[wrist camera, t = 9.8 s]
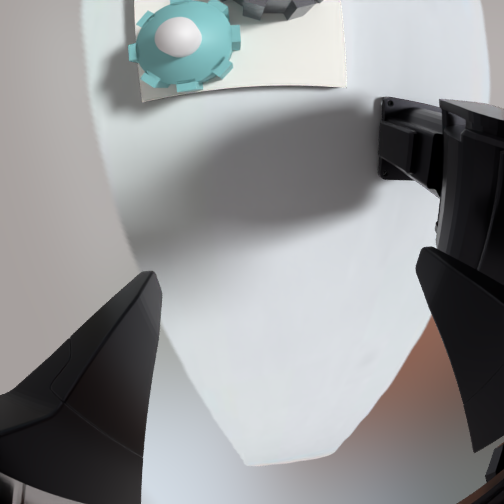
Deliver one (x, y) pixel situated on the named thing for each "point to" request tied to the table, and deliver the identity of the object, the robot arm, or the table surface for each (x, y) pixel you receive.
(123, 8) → the table surface
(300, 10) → the gear
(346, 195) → the table surface
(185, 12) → the gear board
